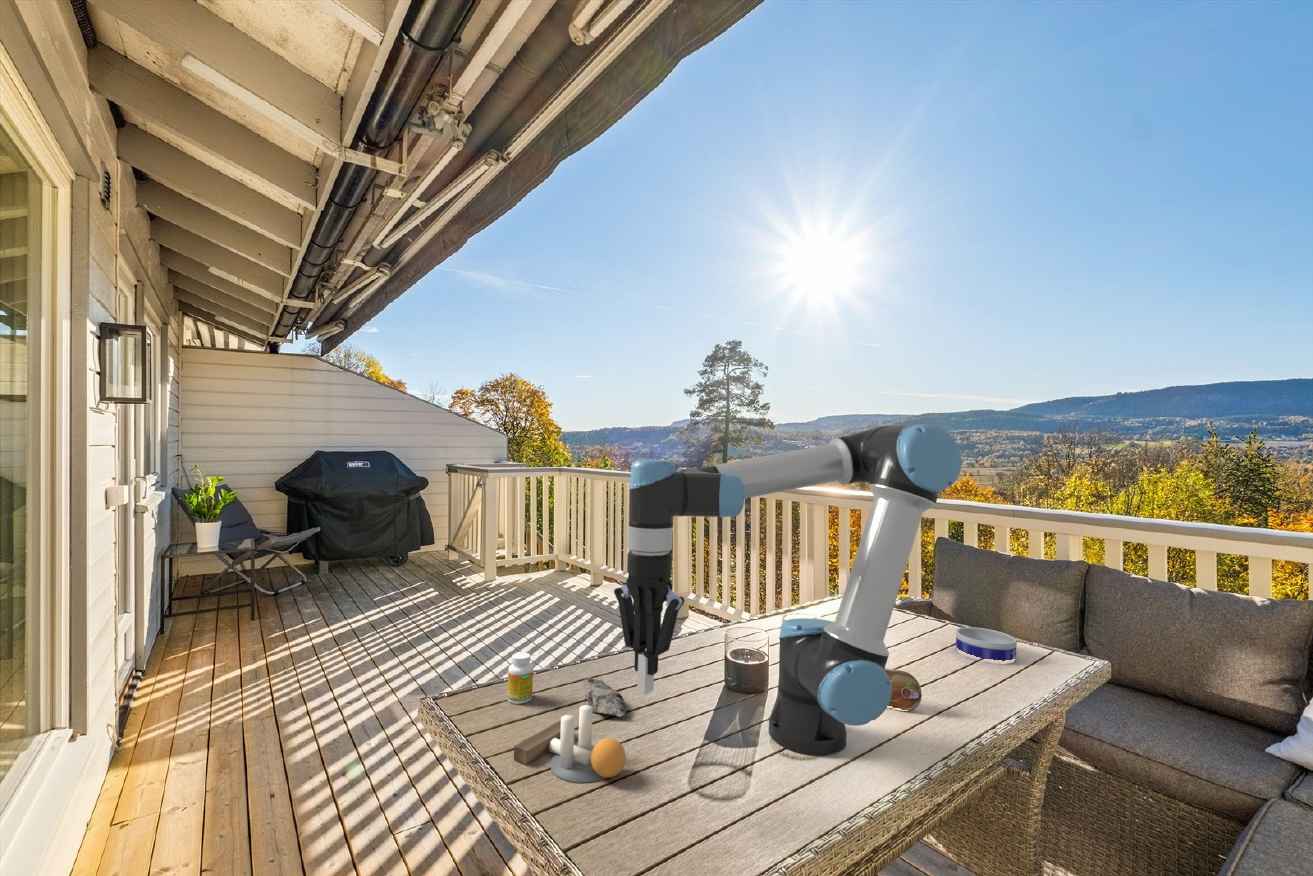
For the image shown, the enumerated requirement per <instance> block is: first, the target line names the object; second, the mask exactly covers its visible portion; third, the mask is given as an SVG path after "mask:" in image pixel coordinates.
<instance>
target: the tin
mask: <svg viewBox="0 0 1313 876" xmlns="http://www.w3.org/2000/svg"><path fill="white" fill-rule="evenodd" d="M884 671H885V672H886V673H887V675H888V677H889V681H890V682H891V686H892V695H891V699H890V702H889V704H888V706H892V707H893V708H900V709H902V710H908V712H911V711H913V710H915V709H916V708H918V707H919V705H920V704H921V702H922V696H923V695H922V693H923V692H922V689H921V686H920V683H919V681H918V679H916V677H915V676H914V675H912V674H911V673H909V672H907V671H904V670H898V669H892V668H887V667H885V669H884Z"/></svg>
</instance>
